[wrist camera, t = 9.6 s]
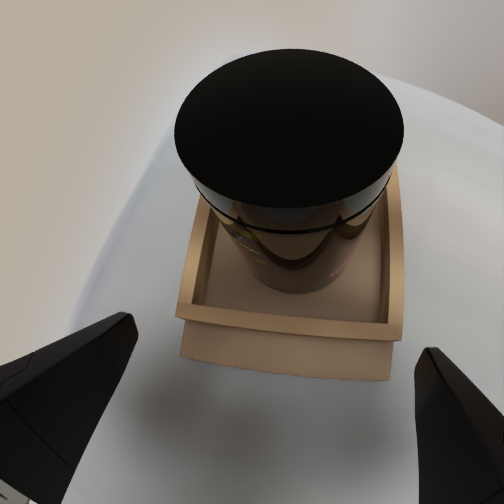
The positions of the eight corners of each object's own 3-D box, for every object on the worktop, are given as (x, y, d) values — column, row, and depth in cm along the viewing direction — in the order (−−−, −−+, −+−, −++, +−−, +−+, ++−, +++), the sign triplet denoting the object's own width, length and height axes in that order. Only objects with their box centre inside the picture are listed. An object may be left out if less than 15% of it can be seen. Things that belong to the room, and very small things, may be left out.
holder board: (383, 378, 15) (400, 384, 12) (187, 356, 17) (164, 356, 14) (377, 115, 21) (383, 87, 18) (237, 108, 23) (229, 81, 20)
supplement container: (322, 317, 15) (357, 260, 6) (220, 263, 18) (130, 158, 8) (370, 218, 17) (421, 84, 7) (274, 175, 19) (247, 37, 9)
